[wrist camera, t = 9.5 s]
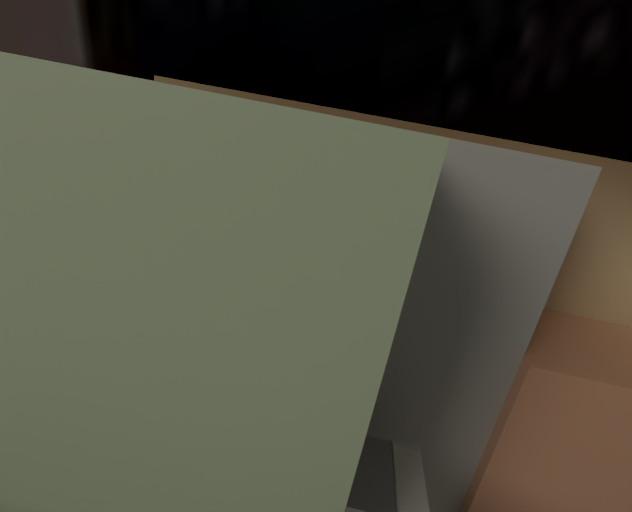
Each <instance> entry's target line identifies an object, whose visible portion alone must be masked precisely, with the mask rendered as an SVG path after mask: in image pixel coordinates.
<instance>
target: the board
mask: <svg viewBox="0 0 632 512" xmlns="http://www.w3.org/2000/svg"><path fill="white" fill-rule="evenodd" d="M154 81H156V82H161V83H166V84H172V85H177V86H182V87H187V88H192V89H198V90H203V91H208V92H213V93H218V94H224V95H229V96H234V97H239V98H244V99H250V100H255V101H260V102H265V103H270V104H276V105H281V106H286V107H291V108H296V109H302V110H307V111H312V112H317V113H322V114H328V115H333V116H338V117H343V118H348V119H354V120H359V121H364V122H369V123H374V124H380V125H385V126H390V127H395V128H400V129H406V130H411V131H416V132H421V133H426V134H431V135H437V136H442V137H447V138H452V139H457V140H463V141H468V142H473V143H478V144H483V145H489V146H494V147H499V148H504V149H509V150H515V151H520V152H525V153H530V154H535V155H541V156H546V157H551V158H556V159H561V160H567V161H572V162H577V163H582V164H587V165H593V166H598V167H602V169H601V172H600V174H599V177H598V179H597V181H596V184H595V186H594V189H593V191H592V193H591V196H590V198H589V201H588V203H587V205H586V208H585V210H584V213H583V215H582V217H581V220H580V222H579V225H578V227H577V229H576V232H575V234H574V237H573V239H572V241H571V244H570V246H569V249H568V251H567V253H566V256H565V258H564V261H563V263H562V265H561V268H560V270H559V273H558V275H557V278H556V280H555V282H554V285H553V287H552V290H551V292H550V294H549V297H548V299H547V302H546V304H545V306H544V309H548V310H553V311H557V312H562V313H567V314H571V315H576V316H581V317H585V318H590V319H595V320H599V321H604V322H609V323H613V324H618V325H623V326H627V327H632V163H630V162H625V161H619V160H614V159H608V158H603V157H598V156H592V155H587V154H581V153H576V152H570V151H565V150H559V149H554V148H548V147H543V146H537V145H532V144H526V143H521V142H515V141H510V140H504V139H499V138H493V137H488V136H483V135H477V134H472V133H466V132H461V131H455V130H450V129H444V128H439V127H433V126H428V125H422V124H417V123H411V122H406V121H400V120H395V119H389V118H384V117H378V116H373V115H368V114H362V113H357V112H351V111H346V110H340V109H335V108H329V107H324V106H318V105H313V104H307V103H302V102H296V101H291V100H285V99H280V98H274V97H269V96H264V95H258V94H253V93H247V92H242V91H236V90H231V89H225V88H220V87H214V86H209V85H203V84H198V83H192V82H187V81H181V80H176V79H170V78H165V77H159V76H154Z"/></svg>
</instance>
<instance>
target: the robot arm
mask: <svg viewBox="0 0 632 512" xmlns="http://www.w3.org/2000/svg"><path fill="white" fill-rule="evenodd" d="M345 512H430V506H429V500H428V494H427V488H426V483H425V477H424V471H423V465H422V459H421V453H420V449H419V448H418V446H417V445H413V444H408V443H403V442H399V441H394V440H390V441H389V440H387V439H383V438H379V437H374V436H370V435H366V438H365V441H364V445H363V448H362V452H361V455H360V459H359V462H358V466H357V469H356V473H355V476H354V480H353V484H352V487H351V491H350V494H349V498H348V501H347V505H346V508H345Z"/></svg>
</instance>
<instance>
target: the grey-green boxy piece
mask: <svg viewBox="0 0 632 512" xmlns="http://www.w3.org/2000/svg"><path fill="white" fill-rule="evenodd" d="M601 169H602V167H598V166H593V165H587V164H582V163H577V162H572V161H567V160H561V159H556V158H551V157H546V156H541V155H535V154H530V153H525V152H520V151H515V150H509V149H504V148H499V147H494V146H489V145H483V144H478V143H473V142H468V141H463V140H457V139H452V138H447V137H442V136H437V135H431V134H426V133H421V132H416V131H411V130H406V129H400V128H395V127H390V126H385V125H380V124H374V123H369V122H364V121H359V120H354V119H348V118H343V117H338V116H333V115H328V114H322V113H317V112H312V111H307V110H302V109H296V108H291V107H286V106H281V105H276V104H270V103H265V102H260V101H255V100H250V99H244V98H239V97H234V96H229V95H224V94H218V93H213V92H208V91H203V90H198V89H192V88H187V87H182V86H177V85H172V84H166V83H161V82H156V81H151V80H146V79H140V78H135V77H130V76H125V75H119V74H114V73H109V72H104V71H99V70H93V69H88V68H83V67H78V66H73V65H67V64H62V63H57V62H52V61H47V60H41V59H36V58H31V57H26V56H21V55H15V54H10V53H5V52H0V512H345V508H346V505H347V501H348V498H349V494H350V491H351V487H352V484H353V480H354V476H355V473H356V469H357V466H358V462H359V459H360V455H361V452H362V448H363V445H364V441H365V438H366V435H370V436H374V437H379V438H383V439H387V440H389V441H390V440H394V441H399V442H403V443H408V444H413V445H417V446H418V448H419V449H420V453H421V459H422V465H423V471H424V477H425V483H426V488H427V494H428V500H429V506H430V512H459V510H460V508H461V505H462V503H463V500H464V498H465V496H466V493H467V491H468V488H469V486H470V484H471V481H472V479H473V476H474V474H475V472H476V469H477V467H478V464H479V462H480V460H481V457H482V455H483V452H484V450H485V448H486V445H487V443H488V440H489V438H490V436H491V433H492V431H493V428H494V426H495V423H496V421H497V419H498V416H499V414H500V411H501V409H502V407H503V404H504V402H505V399H506V397H507V395H508V392H509V390H510V387H511V385H512V383H513V380H514V378H515V375H516V373H517V371H518V368H519V366H520V363H521V361H522V359H523V357H524V354H525V352H526V350H527V347H528V345H529V342H530V340H531V338H532V335H533V333H534V330H535V328H536V326H537V323H538V321H539V318H540V316H541V314H542V311H543V309H544V306H545V304H546V302H547V299H548V297H549V294H550V292H551V290H552V287H553V285H554V282H555V280H556V278H557V275H558V273H559V270H560V268H561V265H562V263H563V261H564V258H565V256H566V253H567V251H568V249H569V246H570V244H571V241H572V239H573V237H574V234H575V232H576V229H577V227H578V225H579V222H580V220H581V217H582V215H583V213H584V210H585V208H586V205H587V203H588V201H589V198H590V196H591V193H592V191H593V189H594V186H595V184H596V181H597V179H598V177H599V174H600V172H601Z"/></svg>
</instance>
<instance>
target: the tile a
mask: <svg viewBox="0 0 632 512" xmlns="http://www.w3.org/2000/svg"><path fill="white" fill-rule="evenodd" d="M459 512H632V327H627V326H623V325H618V324H613V323H609V322H604V321H599V320H595V319H590V318H585V317H581V316H576V315H571V314H567V313H562V312H557V311H553V310H548V309H543V311H542V314H541V316H540V318H539V321H538V323H537V326H536V328H535V330H534V333H533V335H532V338H531V340H530V342H529V345H528V347H527V350H526V352H525V354H524V357H523V359H522V361H521V363H520V366H519V368H518V371H517V373H516V375H515V378H514V380H513V383H512V385H511V387H510V390H509V392H508V395H507V397H506V399H505V402H504V404H503V407H502V409H501V411H500V414H499V416H498V419H497V421H496V423H495V426H494V428H493V431H492V433H491V436H490V438H489V440H488V443H487V445H486V448H485V450H484V452H483V455H482V457H481V460H480V462H479V464H478V467H477V469H476V472H475V474H474V476H473V479H472V481H471V484H470V486H469V488H468V491H467V493H466V496H465V498H464V500H463V503H462V505H461V508H460V510H459Z"/></svg>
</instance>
